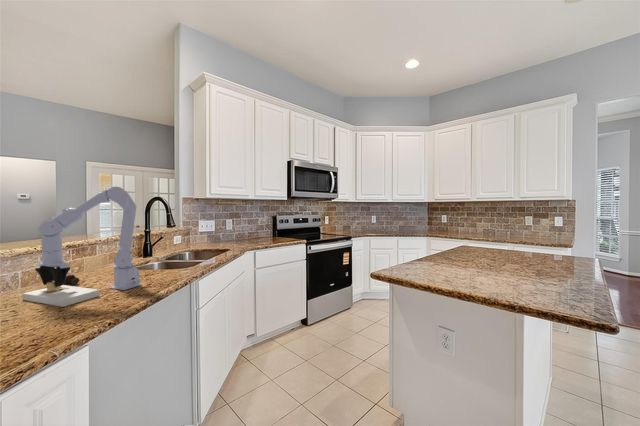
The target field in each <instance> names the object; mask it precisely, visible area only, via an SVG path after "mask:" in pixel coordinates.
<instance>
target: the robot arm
mask: <svg viewBox="0 0 640 426" xmlns="http://www.w3.org/2000/svg"><path fill="white" fill-rule="evenodd" d="M111 201H113V202H114V203H116V204H118V206H119V207H121V209H122V210H123V214H122V221H121V229H120V234H119V235H120V236H119V243H118V249H117V250H118V251H117V253H116V255H115V257H114V259H113V263H114V266H113V282H114V283H113V285H112V286H109V287H108V288H109V289H114V290H123V291H125V290H128V289H129V290H130V289H133V288H136V287H139V286H142V283H140V280H141V279H140V270H139V269H138V268H137V267H135V264H134V263H133V256H134V255H133V253H132V245H133V238H134V237H133V235H134V229H135V221H136V213H137V205H136V203H135V201H134V200H133V198H132V197H131V195H130V194H129V193H128V192H127V191H126V190H125V189H124V188H122V187H120V186H111V187H110V188H108V190H107V189H106V190H103V191H102V192H99V193H97V194H96V195H94V196H93V197H91V198H89V199H88V200H86V201H84V202H83V203H82V204H80V205H78V206H76V207H68V208H63V209H62V210H61V211H62V212H60V213H58V214H57V215H55V216H51V217H50V218H49V219H50V220H45V221H43V222H42V223H40V225H39V227H38V231H39V232H40V233H41V236H40V237H41V242H40V243H41V260H40V261H37V263H38V267H36V268H35V271H36V272H37V273H38V275H39V277H40V278H41V283H42V284H43V285H44V286H47V282H50V281H52V275H53V277H54V281H55V285H56V287H58V286H62V285H65V284H64V281H65V278H66V276H67V275H68V272H69V271H70V269H71V267H70V266H68V262H66V261H64V260H63V244H62V243H63V241H62V232H63V231H64V229H67V228H68V227H70V226H73V224H75V223H76V222H78V221H80V220H81V219H82V218H83V214H85V213H86V212H88V211H90V210H91V209H93V208H95V207H97V206H98V205H101V204H102V203H109V202H111ZM40 233H39V234H40Z"/></svg>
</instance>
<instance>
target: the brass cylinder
mask: <svg viewBox="0 0 640 426" xmlns="http://www.w3.org/2000/svg"><path fill="white" fill-rule="evenodd" d="M46 288H47V293H52V292H56V291H60V290H61V286H58V287H56V285H55V281H50V282H47V285H46Z"/></svg>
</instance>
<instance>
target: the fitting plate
mask: <svg viewBox="0 0 640 426" xmlns="http://www.w3.org/2000/svg"><path fill="white" fill-rule="evenodd" d="M100 292H101V291H100V289H96V288H89V287H81V286H75V285H65V284H63V285H62V286H61V290H60V291H56V292H52V293H47V287H45V288H41V289H36V290H32V291H28V292H23V293H22V300H23V301H26V302H33V303H38V304H39V303H40V304H44V305H51V306H56V307H67V306H70V305H74V304H77V303H80V302H84V301H88V300H91V299H94V298H97V297H100V294H101V293H100Z"/></svg>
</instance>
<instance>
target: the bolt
mask: <svg viewBox="0 0 640 426" xmlns="http://www.w3.org/2000/svg"><path fill="white" fill-rule="evenodd" d="M52 281H54V277H53V275H52ZM78 283H80V278H79V277H76V276H75V275H74V274H67V275H66V278H65V281H64V284H63V285H66V286H70V285H76V284H78ZM69 284H70V285H69Z"/></svg>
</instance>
